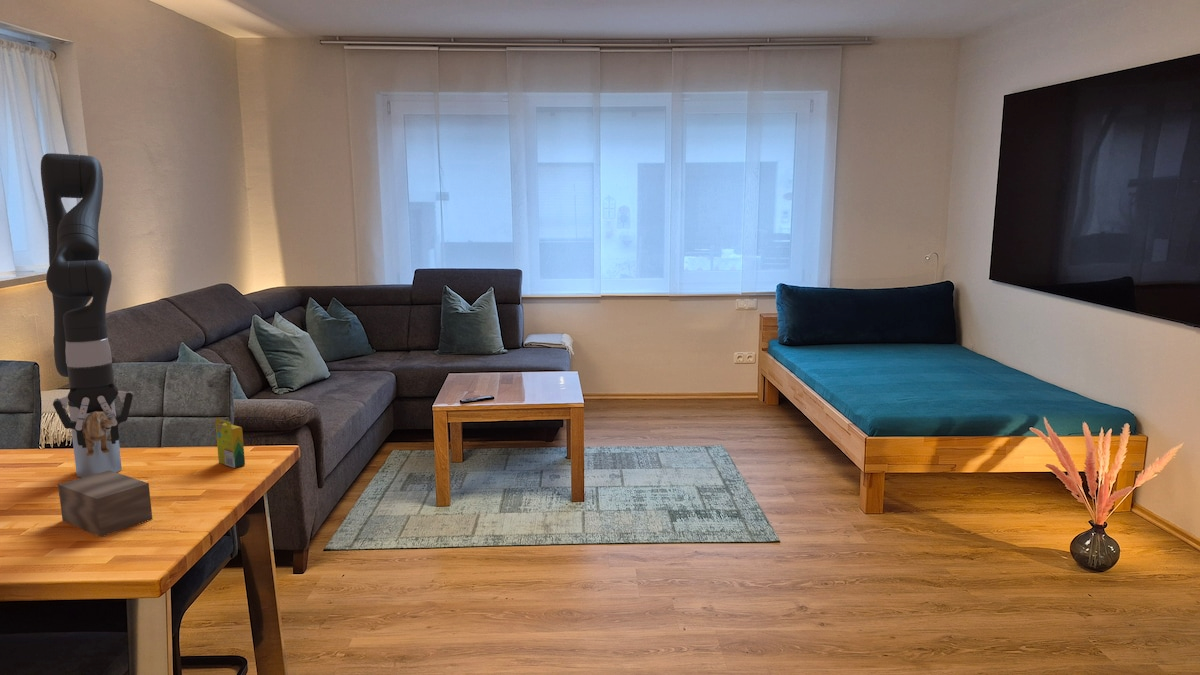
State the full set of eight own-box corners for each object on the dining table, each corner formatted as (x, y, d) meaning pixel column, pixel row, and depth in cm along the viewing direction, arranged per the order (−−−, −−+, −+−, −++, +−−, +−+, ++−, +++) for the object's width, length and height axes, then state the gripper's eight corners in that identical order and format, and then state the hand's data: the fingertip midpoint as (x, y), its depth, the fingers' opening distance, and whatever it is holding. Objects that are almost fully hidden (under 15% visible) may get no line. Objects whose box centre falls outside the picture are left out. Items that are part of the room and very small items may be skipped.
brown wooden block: (62, 521, 162) (57, 484, 161) (113, 505, 171) (109, 470, 169) (101, 537, 155) (96, 499, 153) (152, 520, 163) (148, 483, 162)
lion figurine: (118, 455, 157) (112, 411, 155) (86, 461, 154) (80, 416, 152) (112, 437, 169) (107, 396, 167) (83, 442, 166) (77, 400, 164)
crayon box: (245, 465, 195) (242, 419, 193) (234, 468, 193) (230, 422, 191) (229, 459, 200) (225, 415, 198) (218, 462, 197) (214, 417, 195)
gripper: (131, 354, 164) (139, 434, 167) (47, 362, 156) (57, 445, 159) (131, 361, 157) (140, 444, 160) (44, 369, 150) (55, 456, 153)
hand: (99, 444), depth 160 cm, fingers closed on lion figurine, 4 cm apart
